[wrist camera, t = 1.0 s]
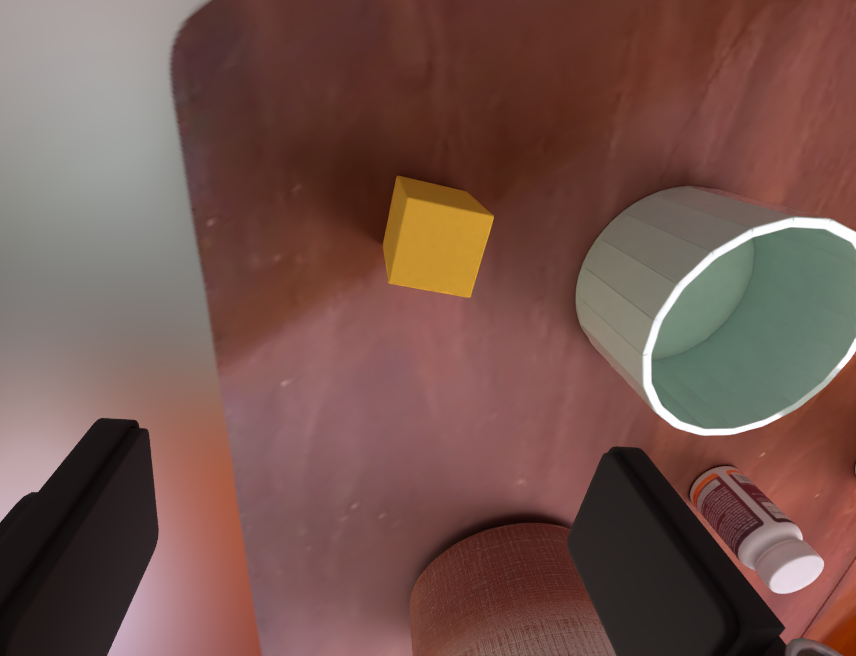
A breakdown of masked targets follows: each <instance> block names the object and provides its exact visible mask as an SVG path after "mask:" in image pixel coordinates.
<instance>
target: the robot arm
mask: <svg viewBox="0 0 856 656" xmlns="http://www.w3.org/2000/svg"><path fill="white" fill-rule="evenodd" d="M157 540H158V519H157V510H156V500H155V490H154V479H153V469H152V460H151V449H150V439H149V432H148V430H147V429H144V428H139V424H138V422H137V421H136V420H127V419H109V418H101V419H98V420H97V421H96V422H95V423H94V424H93V425H92V426H91V428H90V429H89V430H88V431H87V433H86V434H85V435H84V436H83V437H82V439H81V440H80V441H79V442H78V444H77V445H76V446H75V448H74V449H73V450H72V451H71V452H70V454H69V455H68V456H67V457H66V458H65V460H64V461H63V462H62V463H61V465H60V466H59V467H58V468H57V470H56V471H55V472H54V473H53V474H52V476H51V477H50V478H49V479H48V481H47V482H46V483H45V484H44V485H43V487H42V488H41V489H40V490H39V492H31V493H30V494H28V495H26V496H24V497H23V498H22V499H21V500H20V501H19V502H18V503H17V504H16V505H15V506H14V507H13V508H12V509H11V510H10V512H9V513H8V514H7V515H6V517H5V518H4V519H3V520H2V521H1V522H0V656H107V654H108V652H109V650H110V648H111V646H112V643H113V641H114V639H115V636H116V634H117V632H118V630H119V628H120V626H121V623H122V621H123V619H124V617H125V615H126V612H127V610H128V608H129V606H130V603H131V601H132V599H133V597H134V595H135V592H136V590H137V588H138V586H139V583H140V581H141V579H142V577H143V575H144V573H145V570H146V568H147V566H148V564H149V562H150V559H151V557H152V555H153V553H154V550H155V547H156V544H157ZM567 544H568V550H569V553H570V556H571V558H572V560H573V562H574V564H575V567H576V569H577V571H578V573H579V575H580V578H581V580H582V582H583V584H584V586H585V588H586V591H587V593H588V595H589V597H590V599H591V601H592V604H593V606H594V608H595V610H596V612H597V615H598V617H599V619H600V621H601V623H602V625H603V628H604V630H605V632H606V634H607V636H608V638H609V641H610V643H611V645H612V647H613V649H614V652H615V654H616V656H843V655H841V654H840V653H838V652H837V651H835V650H834V649H832V648H831V647H828V646H826V645H824V644H822V643H819V642H817V641H814V640H810V639H805V638H799V639H793V640H792V641H791V642H790V643H789V644H788V645H787V646H786V644H785V643H784V642H783V641H782V639H781V638H780V637H779V635H780V634H781V633H782V631H783V630H784V629H785V627H784V626H783V624H782V623H781V622H780V621H779V619H778V618H777V617H776V616H775V614H774V613H773V612H772V611H771V609H770V608H769V607H768V606H767V604H766V603H765V602H764V601H763V599H762V598H761V597H760V596H759V594H758V593H757V592H756V591H755V589H754V588H753V587H752V586H751V584H750V583H749V582H748V581H747V579H746V578H745V577H744V576H743V574H742V573H741V572H740V571H739V569H738V568H737V567H736V566H735V564H734V563H733V562H732V561H731V559H730V558H729V557H728V556H727V554H726V553H725V552H724V551H723V549H722V548H721V547H720V546H719V544H718V543H717V542H716V541H715V539H714V538H713V537H712V536H711V534H710V533H709V532H708V531H707V529H706V528H705V527H704V526H703V524H702V523H701V522H700V521H699V519H698V518H697V517H696V516H695V514H694V513H693V512H692V511H691V510H690V508H689V507H688V506H687V505H686V503H685V502H684V501H683V500H682V498H681V497H680V496H679V495H678V493H677V492H676V491H675V490H674V488H673V487H672V486H671V485H670V483H669V482H668V481H667V480H666V478H665V477H664V476H663V475H662V473H661V472H660V471H659V470H658V468H657V467H656V466H655V465H654V463H653V462H652V461H651V460H650V458H649V457H648V456H647V455H646V453H645V452H644V451H643V450H642V449H640V448H634V447H612V448H611V449H610V450H609V452H608V453H605V454H603V456H602V458H601V460H600V462H599V465H598V467H597V469H596V472H595V474H594V476H593V479H592V481H591V483H590V486H589V488H588V490H587V493H586V495H585V497H584V500H583V502H582V504H581V507H580V509H579V512H578V514H577V516H576V519H575V521H574V523H573V526H572V528H571V530H570V533H569V535H568V540H567Z"/></svg>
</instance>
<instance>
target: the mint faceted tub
mask: <svg viewBox="0 0 856 656" xmlns="http://www.w3.org/2000/svg"><path fill="white" fill-rule="evenodd" d="M575 301H576V311H577V316H578V320H579V323H580V325H581V328H582V330H583V332H584V333H585V335H586V337H587V338H588V339H589V340H590V342H591V344H592V345H593V346H594V347H595V348H596V350H597V351H598V352H599V353H600V354H601V355H602V356H603V357H604V358H605V359H606V360H607V361H608V362H609V364H610V365H611V366H612V367H613V368H614V369H615V370H616V371H617V372H618V373H619V374H620V375H621V376H622V377H623V379H624V380H625V381H626V382H627V383H628V384H629V385H630V386H631V387H632V388H633V389H634V390H635V391H636V392H637V394H638V395H639V396H640V397H641V398H642V399H643V400H644V401H645V402H646V403H647V404H648V405H649V406H650V407H651V409H652V410H653V411H654V412H655V413H657V414H658V415H659V416H660V417H662V418H663V419H664V420H665V421H666V422H668V423H669V424H670V425H671V426H672V427H674V428H677V429H680V430H684V431H687V432H690V433H694V434H697V435H701V436H708V435H733V434H737V433H741V432H744V431H748V430H751V429H755V428H759V427H762V426H764V425H767V424H769V423H771V422H773V421H775V420H777V419H779V418H781V417H783V416H785V415H786V414H788V413H790V412H792V411H794V410H796V409H797V408H799V407H800V406H802V405H803V404H804V403H805V402H807V401H808V400H809V399H811V398H812V397H813V396H814V395H816V394H817V393H818V392H819V391H821V390H822V389H823V388H825V387H826V386H827V385H828V384H829V383H830V382H831V381H832V379H833V378H834V377H835V376H836V375H837V374H838V373H839V371H840V370H841V369H842V368H843V367H844V366H845V365H846V363H847V362H848V361H849V360H850V359H851V358H852V356H853V355H854V353H855V351H856V231H854V230H852V229H850V228H848V227H846V226H844V225H843V224H841V223H839V222H837V221H835V220H833V219H831V218H827V217H823V216H819V215H816V214H812V213H808V212H804V211H800V210H796V209H793V208H789V207H785V206H781V205H777V204H773V203H770V202H766V201H762V200H758V199H754V198H750V197H746V196H743V195H739V194H735V193H731V192H727V191H723V190H720V189H713V188H706V187H700V186H682V187H674V188H670V189H666V190H662V191H659V192H656V193H654V194H651V195H649V196H647V197H645V198H643V199H641V200H639V201H637V202H635V203H634V204H633V205H631V206H630V207H628V208H627V209H625V210H624V211H623V212H621V213H620V214H619V215H618V216H617V217H616V218H614V219H613V220H612V221H611V222H610V223H609V224H608V226H607V227H606V228H605V229H604V230H603V231H602V232H601V234H600V235H599V236H598V238H597V239H596V240H595V242H594V243H593V245H592V247H591V248H590V250H589V251H588V253H587V255H586V258H585V260H584V262H583V264H582V267H581V270H580V273H579V276H578V281H577V286H576V298H575Z"/></svg>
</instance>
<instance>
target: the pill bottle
mask: <svg viewBox="0 0 856 656" xmlns="http://www.w3.org/2000/svg"><path fill="white" fill-rule="evenodd" d="M690 499H691V501H692V503H693V504H694V506H695V507H696V508H697V509H698V510H699V512H700V513H701V514H702V515H703V516H704V518H705V519H706V520H707V521H708V522H709V524H710V525H711V526H712V527H713V529H714V530H715V531H716V532H717V533H718V535H719V536H720V537H721V538H722V539H723V541H724V542H725V543H726V544H727V545H728V547H729V548H730V549H731V550H732V552H733V553H734V554H735V555H736V557H737V558H738V559H739V561H740V562H742V563H743V564H744V565H745V566H746V567H748V568H750V569H753V570H755V571H756V573H757V574H758V576H759V577H760V578H761V579H762V580H763V582H764V583H765V584H766V585H767V586H768V587H769V588H770V589H771V590H772V591H773V592H775V593H780V594H784V593H791V592H794V591H797V590H799V589H802V588H803V587H805V586H807V585H809V584H810V583H811V582H813V581H814V580H815V579H816V578H817V577H818V576H819V574H820V573H821V572H822V570H823V567H824V562H823V560H822V558H821V557H820V556H819V555H818V554H817V553H816V552H815V551H814V550H813V549H812V548H811V547H810V546H809V545H808V544H807V543H806V542H805V541H803V540H802V534H801V531H800V529H799V528H798V527H797V525H796V524H795V523H793V522H792V521H791V520H790V519H789V518H788V517H787V516H786V515H785V514H784V513H783V512H782V511H781V510H780V509H779V508H778V507H777V506H776V505H775V504H774V503H773V502H772V501H770V500H769V499H768V498H767V497H766V496H765V495H764V494H763V493H762V492H761V491H760V490H759V489H758V488H757V487H756V486H755V485H754V484H753V483H752V482H751V481H750V480H749V479H748V478H747V477H746V476H745V475H744V474H743V473H742V472H741V471H740V470H738V469H737V468H735V467H731V466H722V467H717V468H714V469H711V470H709V471H707V472H705V473H704V474H702V475H701V476H700V477H699V478H698V479H697V480H696V481H695V483H694V484H693V486H692V489H691V492H690Z"/></svg>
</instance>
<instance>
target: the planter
mask: <svg viewBox="0 0 856 656" xmlns="http://www.w3.org/2000/svg"><path fill="white" fill-rule="evenodd" d="M570 530H571V529H569V528H566V527H562V526H558V525H553V524H546V523H514V524H507V525H502V526H498V527H494V528H490V529H487V530H483V531H480V532H478V533H475V534H473V535H471V536H469V537H467V538H465V539H463V540H461V541H459V542H457V543H455V544H454V545H452V546H451V547H449V548H448V549H446V550H445V551H444V552H442V553H441V554H440V555H439V556H438V557H437V558H435V559H434V560H433V561H432V562H431V563H430V564H429V565H428V566H427V567H426V568H425V570H424V571H423V572H422V574H421V575H420V577H419V578H418V580H417V582H416V584H415V586H414V588H413V590H412V594H411V598H410V628H411V639H412V649H413V656H616V654H615V652H614V649H613V647H612V645H611V643H610V641H609V638H608V636H607V634H606V632H605V630H604V628H603V625H602V623H601V621H600V619H599V617H598V615H597V612H596V610H595V608H594V606H593V604H592V601H591V599H590V597H589V595H588V593H587V591H586V588H585V586H584V584H583V582H582V580H581V578H580V575H579V573H578V571H577V569H576V567H575V564H574V562H573V560H572V558H571V556H570V553H569V550H568V544H567V540H568V535H569V533H570Z"/></svg>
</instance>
